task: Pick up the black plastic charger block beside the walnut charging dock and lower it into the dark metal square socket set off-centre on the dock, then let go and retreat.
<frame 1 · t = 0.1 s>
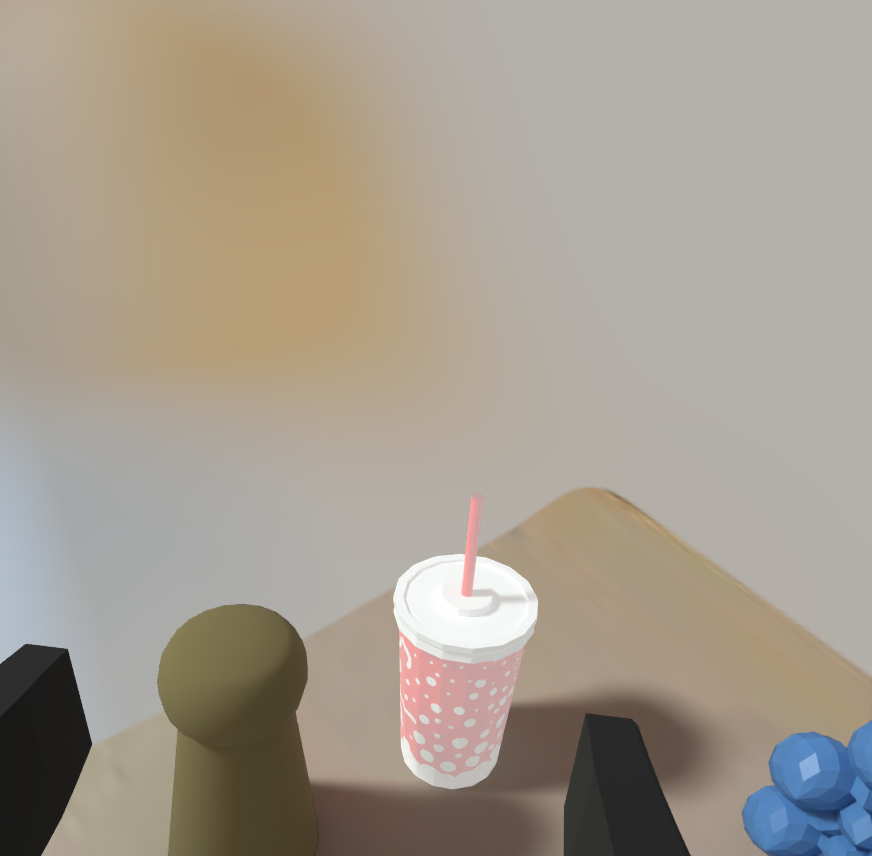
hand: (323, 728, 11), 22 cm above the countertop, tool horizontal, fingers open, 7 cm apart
beverage cup: (449, 750, 38), on the countertop
cork: (244, 843, 33), on the countertop
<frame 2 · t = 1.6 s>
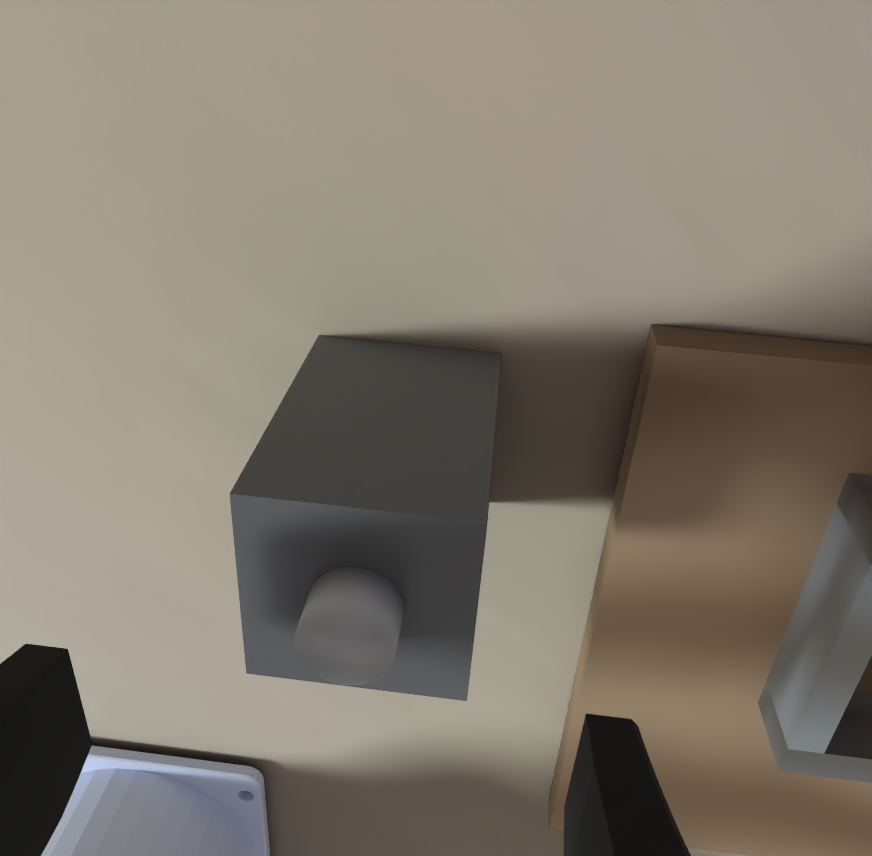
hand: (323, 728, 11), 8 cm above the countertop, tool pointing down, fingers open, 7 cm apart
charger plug: (406, 422, 18), on the countertop
charging dock: (866, 641, 20), on the countertop
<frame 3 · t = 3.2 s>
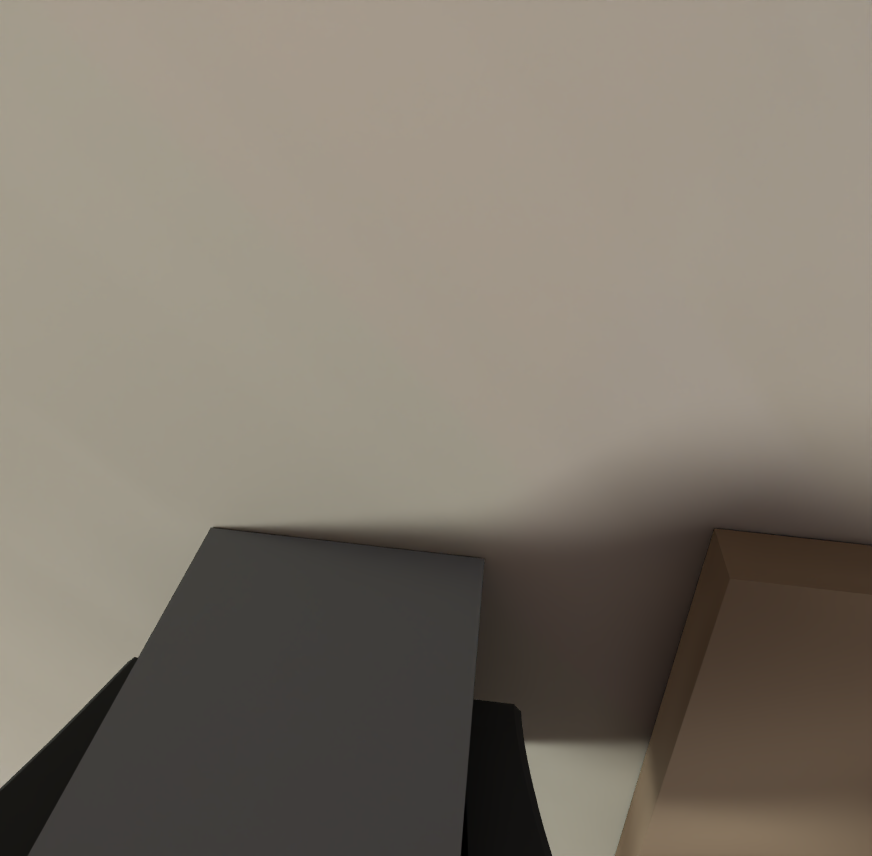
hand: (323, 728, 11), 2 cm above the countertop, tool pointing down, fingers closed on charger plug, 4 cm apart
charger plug: (346, 641, 13), on the countertop, touching gripper
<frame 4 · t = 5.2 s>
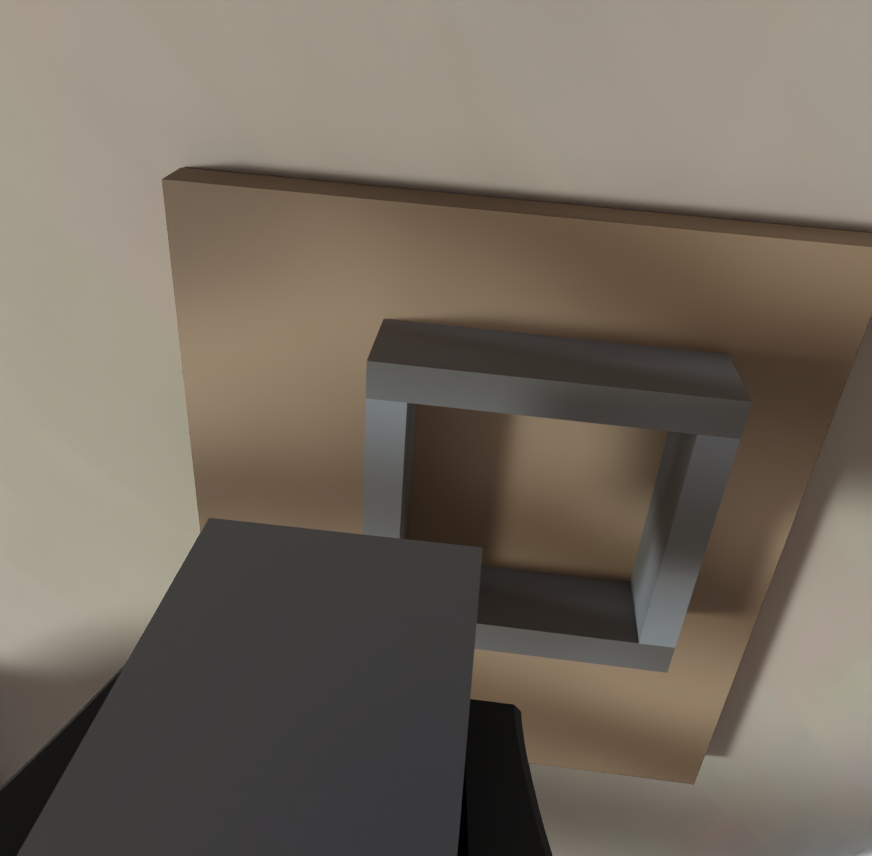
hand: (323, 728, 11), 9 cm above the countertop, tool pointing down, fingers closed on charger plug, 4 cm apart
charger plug: (345, 632, 13), point 7 cm above the countertop, touching gripper
charging dock: (482, 516, 20), on the countertop
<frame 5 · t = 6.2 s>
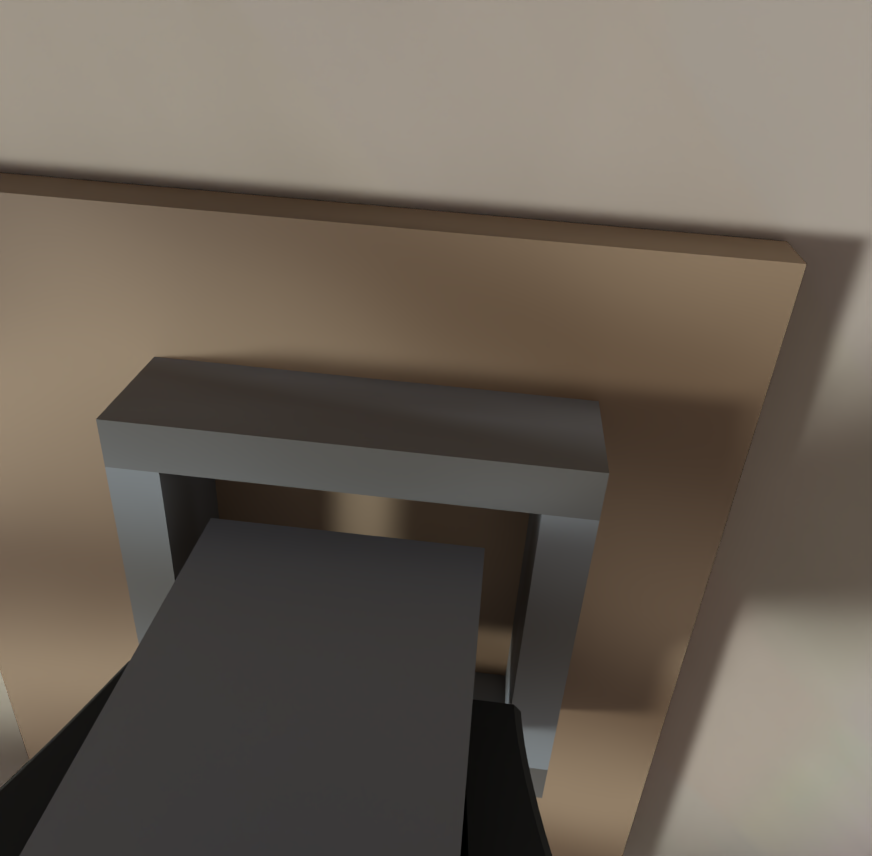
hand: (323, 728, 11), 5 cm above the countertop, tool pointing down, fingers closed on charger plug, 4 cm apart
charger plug: (346, 632, 12), point 3 cm above the countertop, touching gripper
charging dock: (328, 590, 16), on the countertop
when the fingers open (4 cm above the countertop, at t = 7.2 s): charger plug drops 1 cm, resting on charging dock.
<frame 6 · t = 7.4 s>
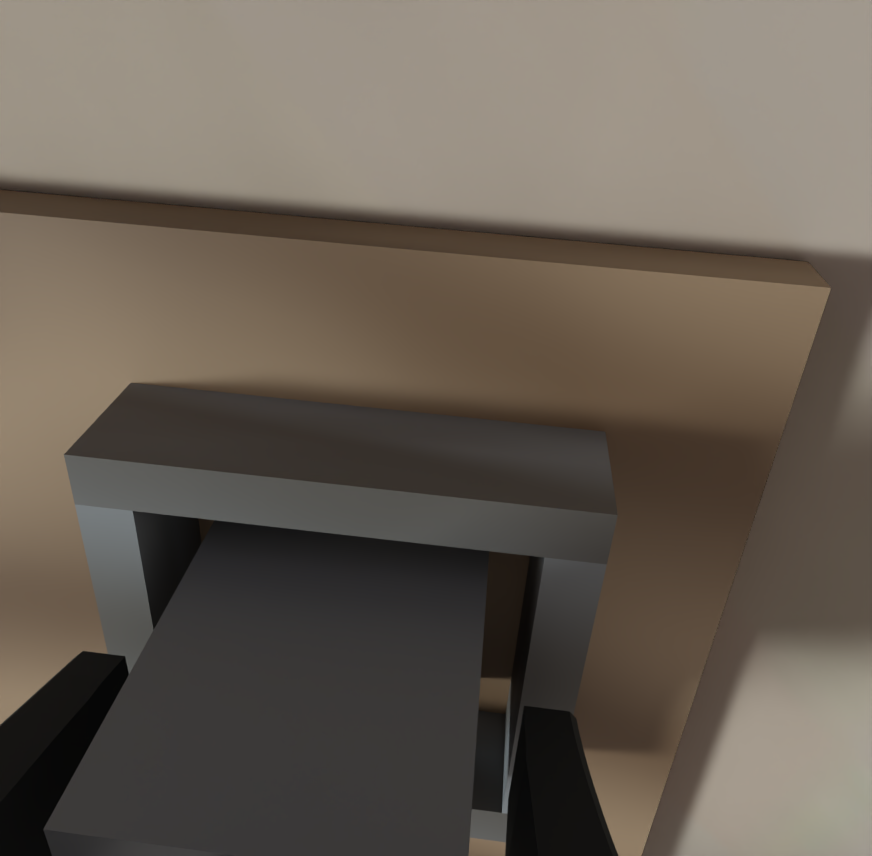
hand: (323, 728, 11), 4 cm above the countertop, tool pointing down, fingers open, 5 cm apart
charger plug: (364, 581, 14), point 1 cm above the countertop, touching charging dock
charging dock: (319, 622, 16), on the countertop
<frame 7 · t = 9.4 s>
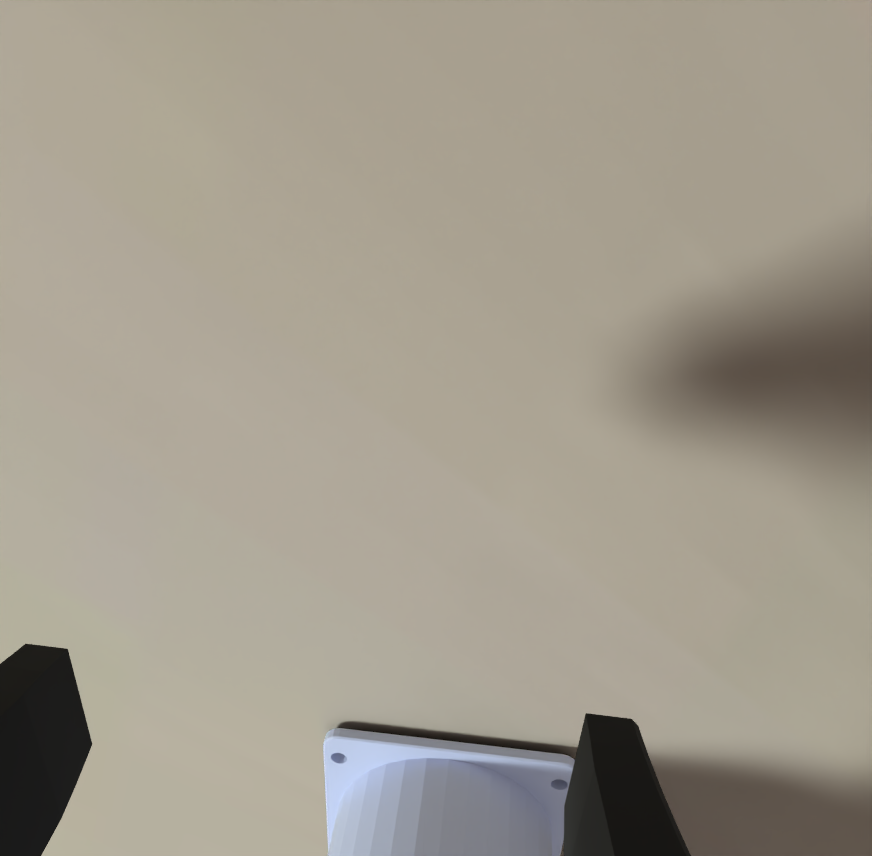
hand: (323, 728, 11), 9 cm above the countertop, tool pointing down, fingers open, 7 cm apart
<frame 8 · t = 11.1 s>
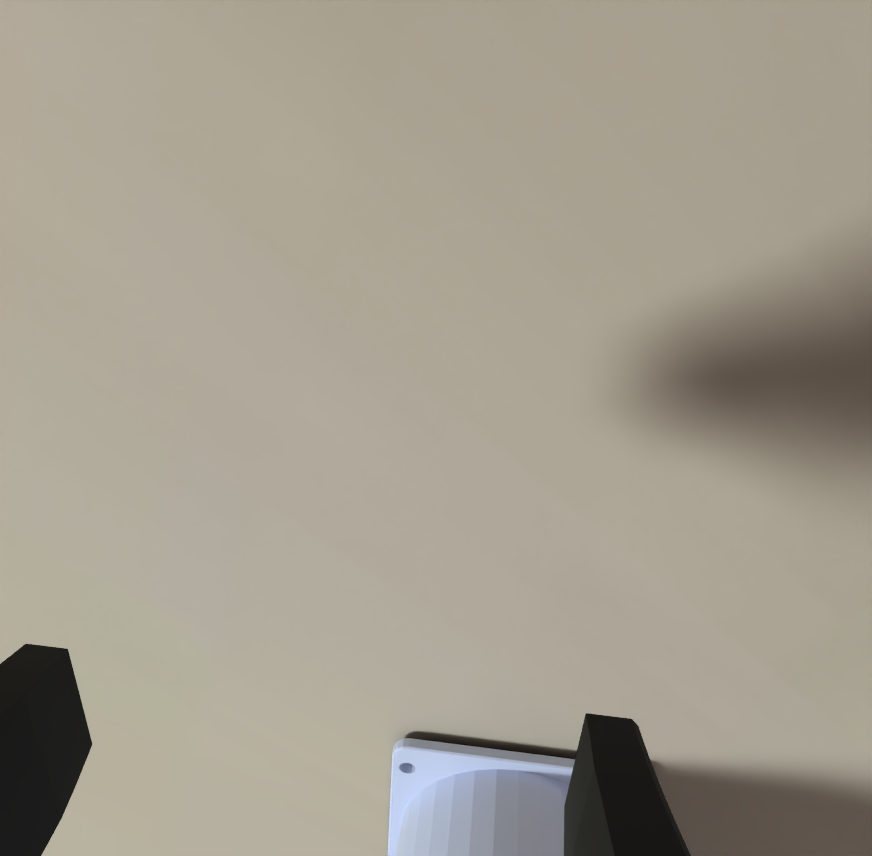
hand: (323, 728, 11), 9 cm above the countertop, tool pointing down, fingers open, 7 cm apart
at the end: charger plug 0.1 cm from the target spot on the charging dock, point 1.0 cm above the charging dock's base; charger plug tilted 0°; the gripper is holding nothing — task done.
